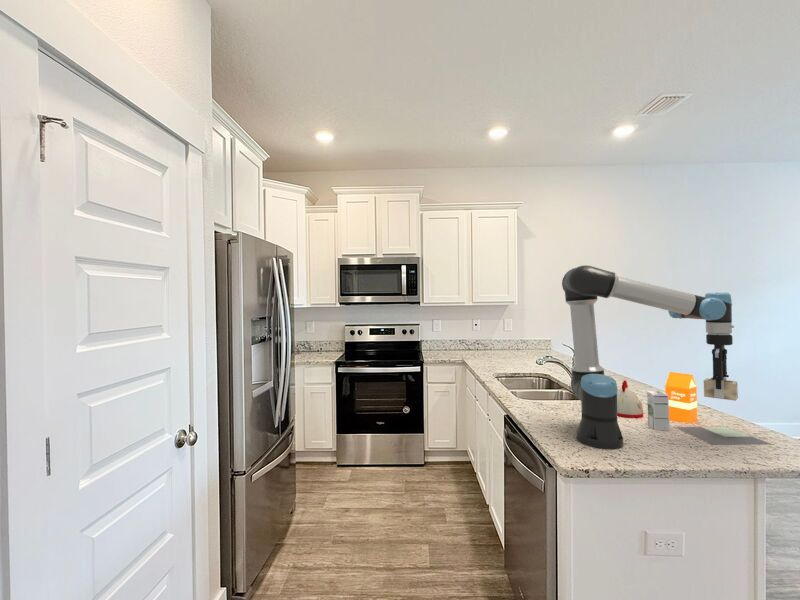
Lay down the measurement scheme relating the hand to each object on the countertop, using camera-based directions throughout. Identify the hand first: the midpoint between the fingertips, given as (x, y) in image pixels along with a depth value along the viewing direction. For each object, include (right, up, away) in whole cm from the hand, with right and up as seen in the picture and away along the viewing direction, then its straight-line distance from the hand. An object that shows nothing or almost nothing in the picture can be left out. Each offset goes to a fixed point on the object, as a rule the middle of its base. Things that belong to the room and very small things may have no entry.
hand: (720, 396), depth 143 cm
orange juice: (+1, -16, +21) cm, 26 cm away
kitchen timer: (-17, -16, +31) cm, 39 cm away
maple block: (0, 0, 0) cm, 0 cm away
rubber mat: (0, -15, +1) cm, 15 cm away
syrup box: (-17, -16, +10) cm, 25 cm away
